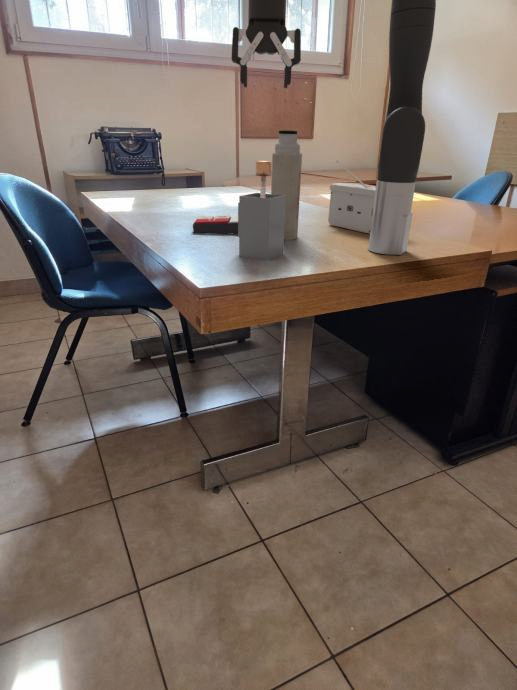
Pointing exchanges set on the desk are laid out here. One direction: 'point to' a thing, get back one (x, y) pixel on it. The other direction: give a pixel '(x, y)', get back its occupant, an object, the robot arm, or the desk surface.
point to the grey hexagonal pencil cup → (261, 225)
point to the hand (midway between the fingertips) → (265, 87)
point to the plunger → (263, 174)
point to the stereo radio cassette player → (351, 205)
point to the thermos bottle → (288, 178)
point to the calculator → (216, 224)
